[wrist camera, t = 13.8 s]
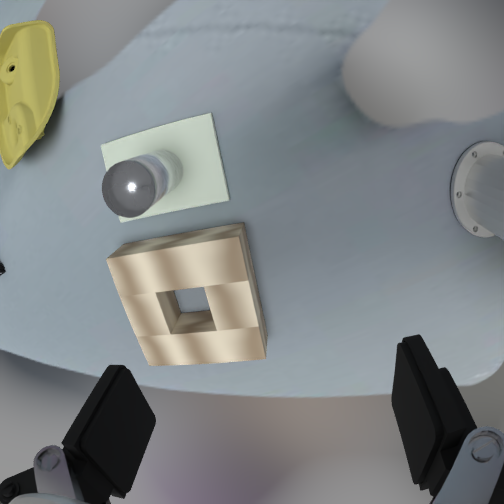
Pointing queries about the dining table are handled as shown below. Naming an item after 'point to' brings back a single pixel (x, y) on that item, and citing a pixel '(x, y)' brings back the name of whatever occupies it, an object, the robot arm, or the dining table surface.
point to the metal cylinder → (141, 182)
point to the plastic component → (26, 86)
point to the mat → (190, 154)
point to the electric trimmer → (2, 269)
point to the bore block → (191, 276)
